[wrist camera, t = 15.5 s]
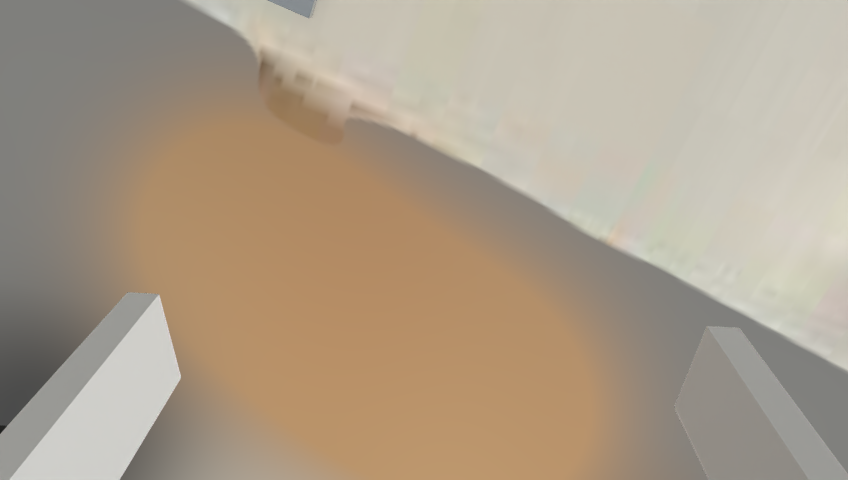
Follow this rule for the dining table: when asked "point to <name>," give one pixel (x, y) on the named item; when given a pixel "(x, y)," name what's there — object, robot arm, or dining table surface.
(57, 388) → the robot arm
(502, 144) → the dining table surface
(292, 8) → the slate board
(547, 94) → the dining table surface
